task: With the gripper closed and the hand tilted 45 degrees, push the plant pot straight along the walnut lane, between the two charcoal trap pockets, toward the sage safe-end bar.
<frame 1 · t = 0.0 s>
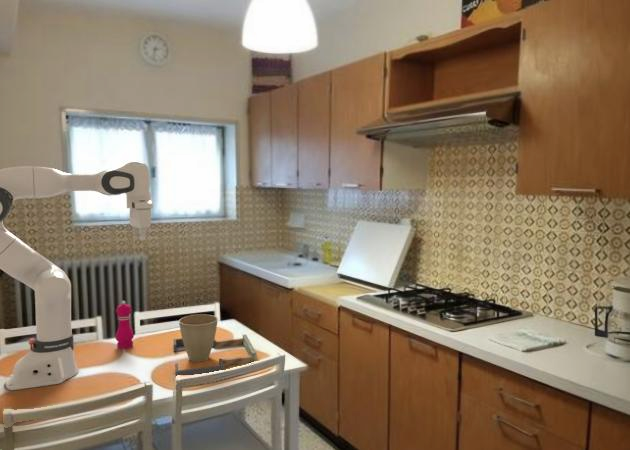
hand: (140, 238, 180), 48 cm above the table, tool pointing down, fingers open, 8 cm apart
pepper mill: (125, 346, 197), on the table
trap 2: (199, 368, 169), on the table
plant pot: (199, 358, 183), on the table
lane: (234, 349, 187), on the table
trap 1: (194, 343, 196), on the table
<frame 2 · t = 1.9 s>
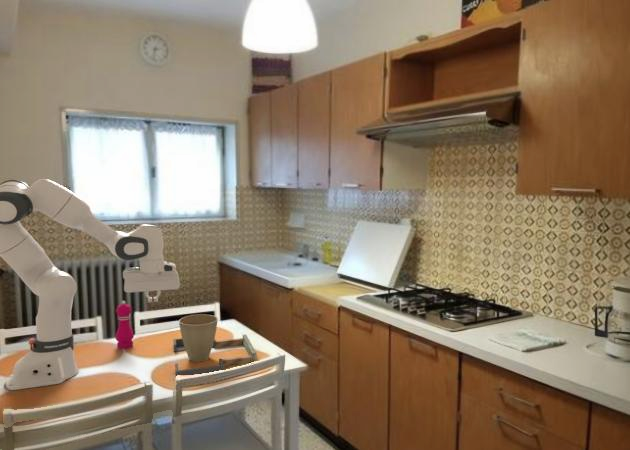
hand: (153, 302, 177), 24 cm above the table, tool pointing down, fingers closed
nothing on the table moved.
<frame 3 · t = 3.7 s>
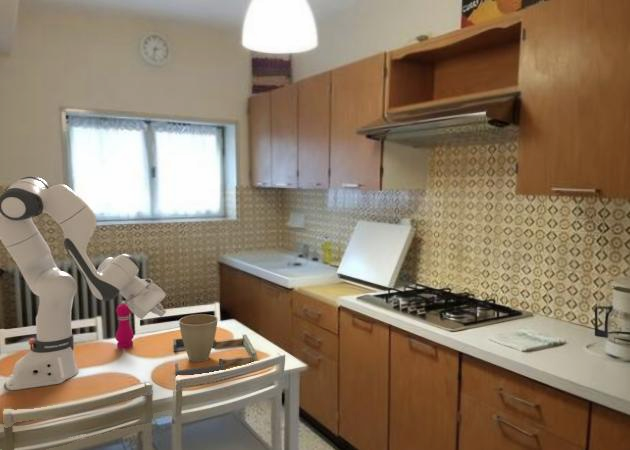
hand: (164, 314, 177), 19 cm above the table, tool tilted 50°, fingers closed
nothing on the table moved.
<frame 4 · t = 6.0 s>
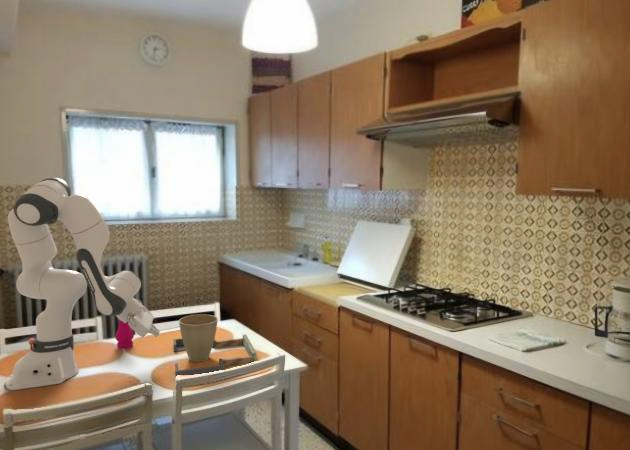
hand: (158, 334, 176), 12 cm above the table, tool tilted 45°, fingers closed
nothing on the table moved.
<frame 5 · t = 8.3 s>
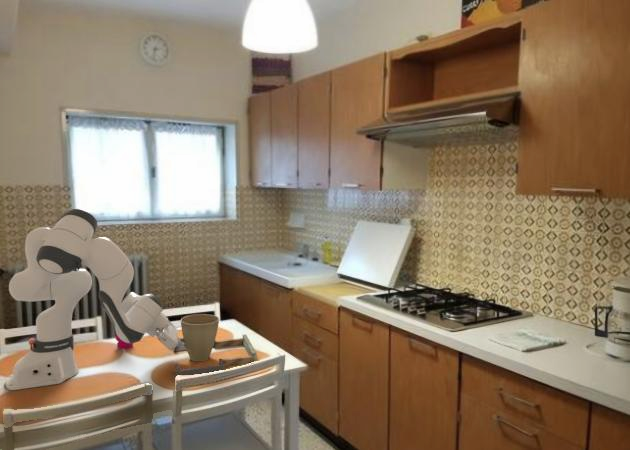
hand: (183, 347, 181), 5 cm above the table, tool tilted 45°, fingers closed
plant pot: (200, 358, 183), on the table, touching gripper
everything else where it was.
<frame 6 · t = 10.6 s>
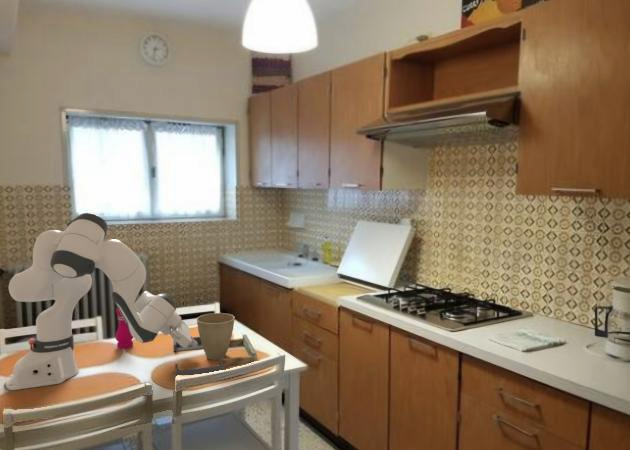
hand: (196, 345, 183), 5 cm above the table, tool tilted 45°, fingers closed
plant pot: (216, 357, 185), on the table
everything else where it was.
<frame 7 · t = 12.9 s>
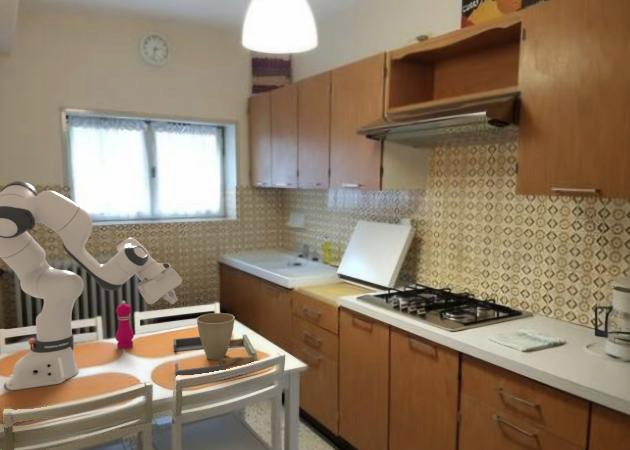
hand: (175, 302, 176), 24 cm above the table, tool tilted 40°, fingers closed
nothing on the table moved.
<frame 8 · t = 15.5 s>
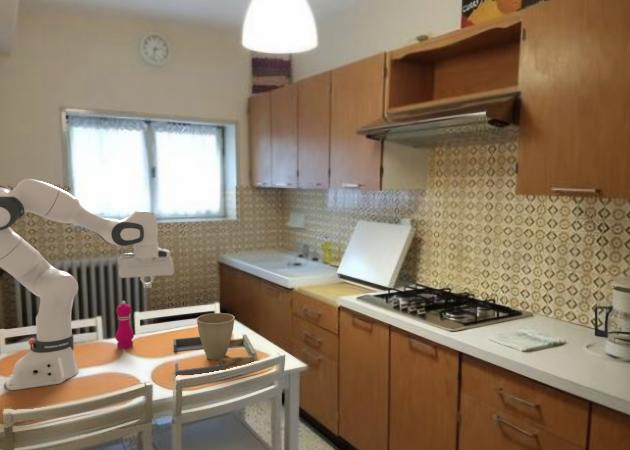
hand: (147, 287, 179), 29 cm above the table, tool pointing down, fingers closed
nothing on the table moved.
at the end: plant pot inside the target area (1.8 cm from its centre), on the table; plant pot tilted 0°; plant pot touching table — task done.
